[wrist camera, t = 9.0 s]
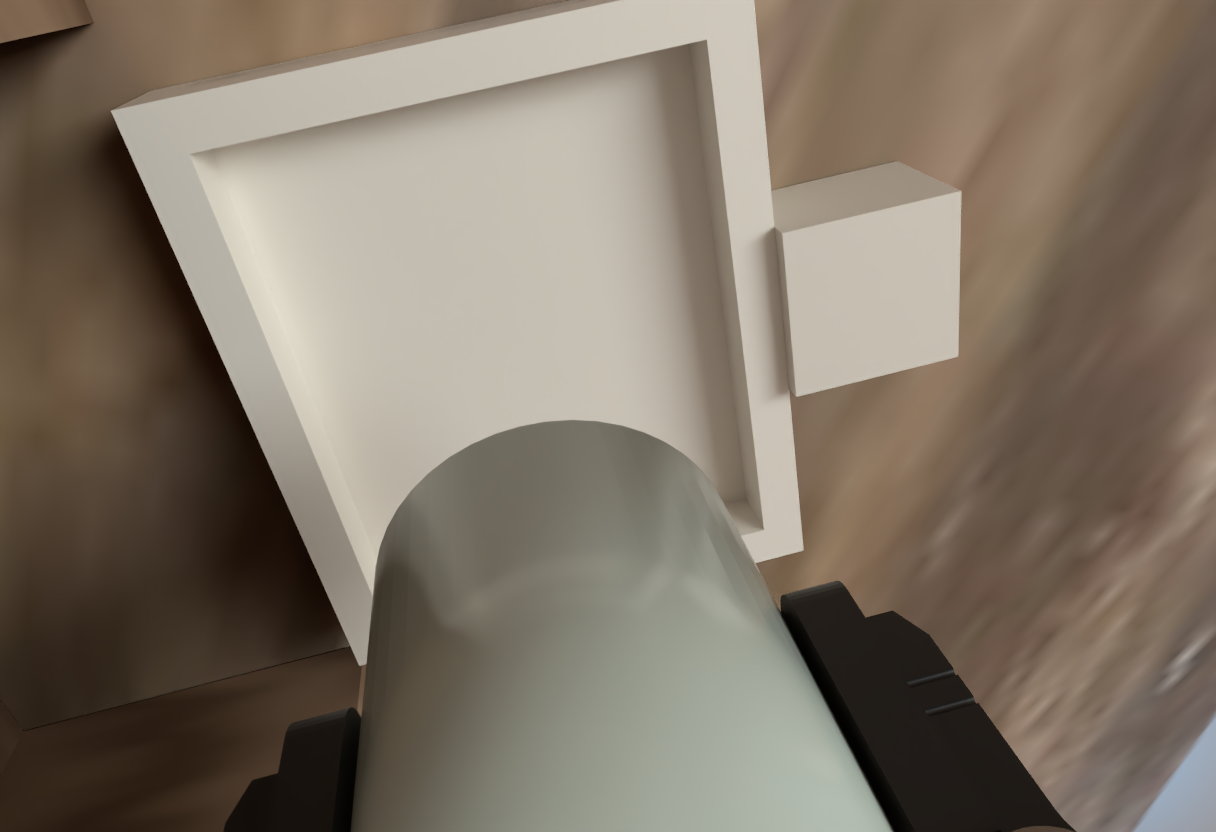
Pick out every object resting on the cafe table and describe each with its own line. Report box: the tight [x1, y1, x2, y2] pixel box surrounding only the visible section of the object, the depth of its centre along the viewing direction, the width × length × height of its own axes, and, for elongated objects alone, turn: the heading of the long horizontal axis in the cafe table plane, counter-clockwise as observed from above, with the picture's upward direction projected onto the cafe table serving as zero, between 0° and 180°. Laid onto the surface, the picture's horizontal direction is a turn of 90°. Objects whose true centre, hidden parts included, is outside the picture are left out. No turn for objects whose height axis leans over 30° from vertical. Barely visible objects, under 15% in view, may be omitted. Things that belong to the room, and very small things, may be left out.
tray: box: [111, 0, 961, 666], centre depth 21 cm, size 16×14×3 cm
